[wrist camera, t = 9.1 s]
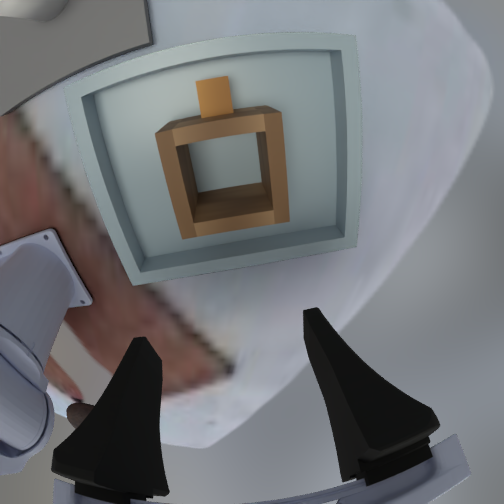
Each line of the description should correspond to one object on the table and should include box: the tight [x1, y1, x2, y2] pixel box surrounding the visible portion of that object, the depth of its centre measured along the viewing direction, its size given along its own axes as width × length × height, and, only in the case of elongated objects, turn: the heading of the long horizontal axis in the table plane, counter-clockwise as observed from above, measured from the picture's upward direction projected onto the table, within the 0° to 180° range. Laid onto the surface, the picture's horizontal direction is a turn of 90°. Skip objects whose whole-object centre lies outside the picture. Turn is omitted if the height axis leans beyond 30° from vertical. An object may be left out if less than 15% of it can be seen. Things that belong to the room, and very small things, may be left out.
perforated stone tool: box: [67, 403, 94, 429], centre depth 34 cm, size 15×5×7 cm, turn 51°
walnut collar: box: [155, 76, 290, 240], centre depth 13 cm, size 6×8×4 cm
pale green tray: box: [64, 32, 362, 286], centre depth 15 cm, size 16×14×2 cm
